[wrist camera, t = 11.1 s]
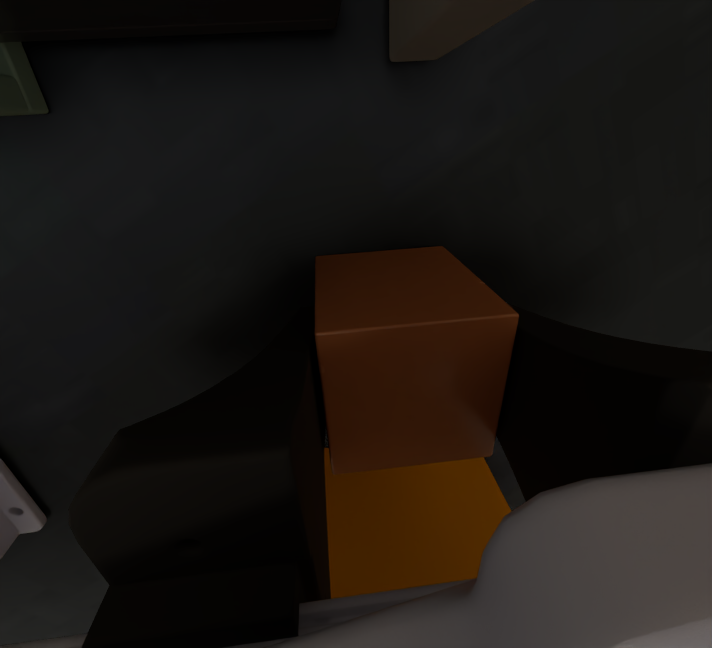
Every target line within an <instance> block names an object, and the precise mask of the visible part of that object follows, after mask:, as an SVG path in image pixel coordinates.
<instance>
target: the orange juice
mask: <svg viewBox="0 0 712 648" xmlns="http://www.w3.org/2000/svg"><path fill="white" fill-rule="evenodd" d="M324 464H325V488H326V510H327V531H328V551H329V571H330V589H331V599H333V598H341V597H348V596H355V595H362V594H369V593H376V592H383V591H390V590H397V589H404V588H411V587H418V586H426V585H433V584H440V583H447V582H454V581H461V580H468V579H475V578H477V576H478V571H479V567H480V562H481V557H482V553H483V551H484V549H485V547H486V545H487V542H488V541H489V539H490V538H491V536H492V535H493V533H494V531H495V530H496V528H497V527H498V525H499V524H500V522H501V520H502V519H503V517H504V516H505V515H507V514H508V513H510V512H511V510H510V508H509V506H508V504H507V502H506V500H505V498H504V496H503V494H502V492H501V490H500V488H499V486H498V484H497V482H496V481H495V479H494V477H493V475H492V473H491V471H490V469H489V467H488V465H487V463H486V461H485V459H484V457H481V458H472V459H464V460H455V461H447V462H439V463H430V464H422V465H414V466H405V467H397V468H389V469H380V470H372V471H364V472H355V473H347V474H338V475H333V473H332V470H331V462H330V454H329V448H325V449H324Z"/></svg>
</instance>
